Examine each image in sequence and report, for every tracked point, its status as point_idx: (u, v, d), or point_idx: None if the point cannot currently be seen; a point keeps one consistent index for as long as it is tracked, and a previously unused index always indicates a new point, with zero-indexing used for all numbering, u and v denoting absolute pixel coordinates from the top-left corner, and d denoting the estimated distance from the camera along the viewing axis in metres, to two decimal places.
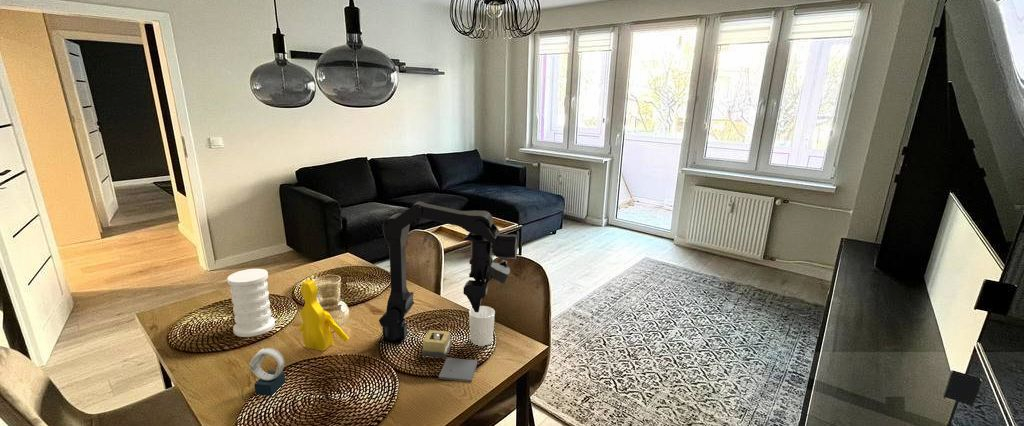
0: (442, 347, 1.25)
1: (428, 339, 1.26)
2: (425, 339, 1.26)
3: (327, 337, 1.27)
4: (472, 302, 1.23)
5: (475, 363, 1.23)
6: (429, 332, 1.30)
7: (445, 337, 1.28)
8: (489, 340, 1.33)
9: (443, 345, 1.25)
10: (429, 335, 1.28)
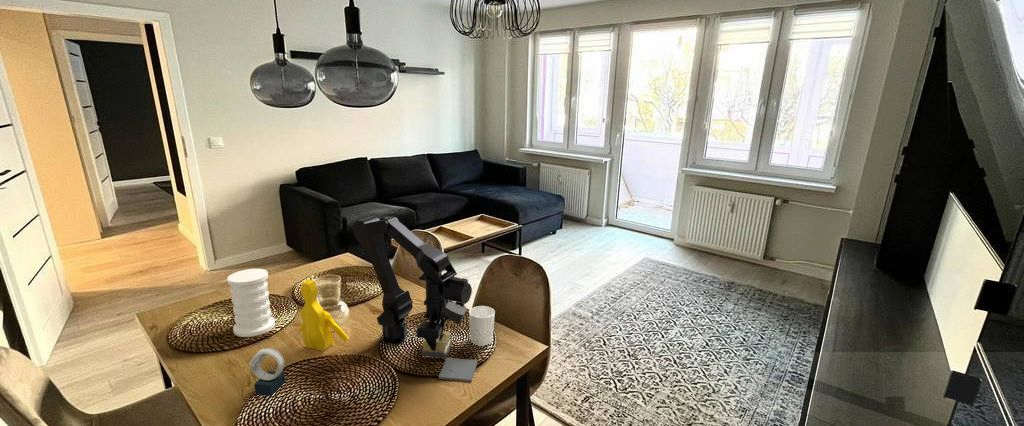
0: (442, 347, 1.25)
1: None
2: None
3: (327, 337, 1.27)
4: (428, 341, 1.24)
5: (475, 363, 1.23)
6: None
7: (445, 337, 1.28)
8: (489, 340, 1.33)
9: (443, 345, 1.25)
10: None
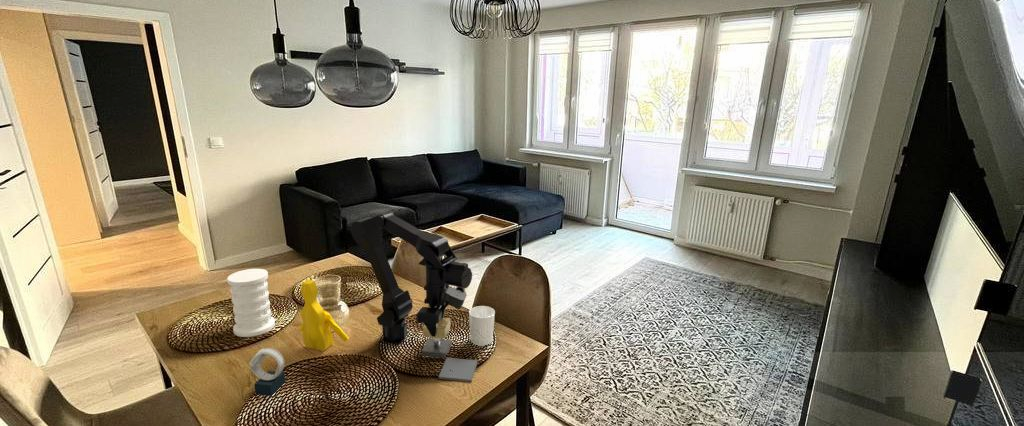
0: (442, 333, 1.24)
1: None
2: None
3: (327, 337, 1.27)
4: (428, 326, 1.22)
5: (475, 363, 1.23)
6: None
7: (445, 323, 1.26)
8: (489, 340, 1.33)
9: (444, 331, 1.24)
10: None
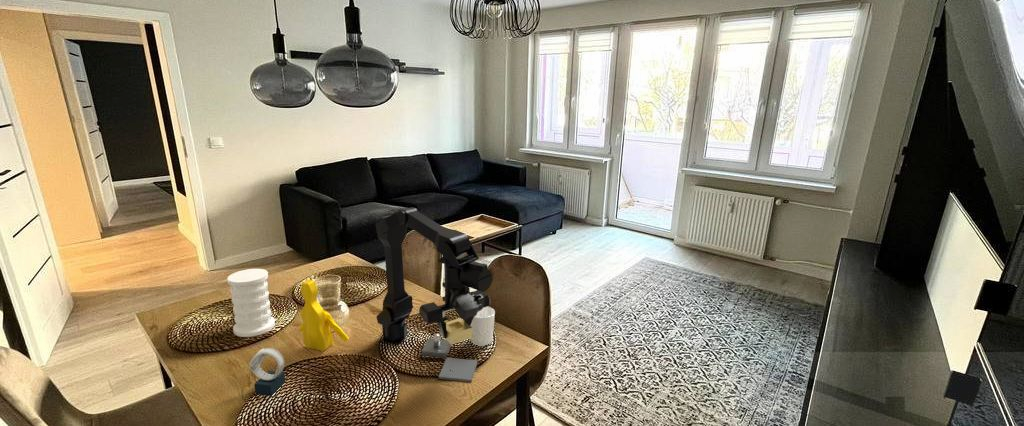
0: (450, 338, 1.14)
1: (446, 325, 1.18)
2: None
3: (327, 337, 1.27)
4: (438, 325, 1.15)
5: (475, 363, 1.23)
6: (456, 319, 1.21)
7: (460, 330, 1.15)
8: (489, 340, 1.33)
9: (450, 337, 1.13)
10: (452, 322, 1.19)
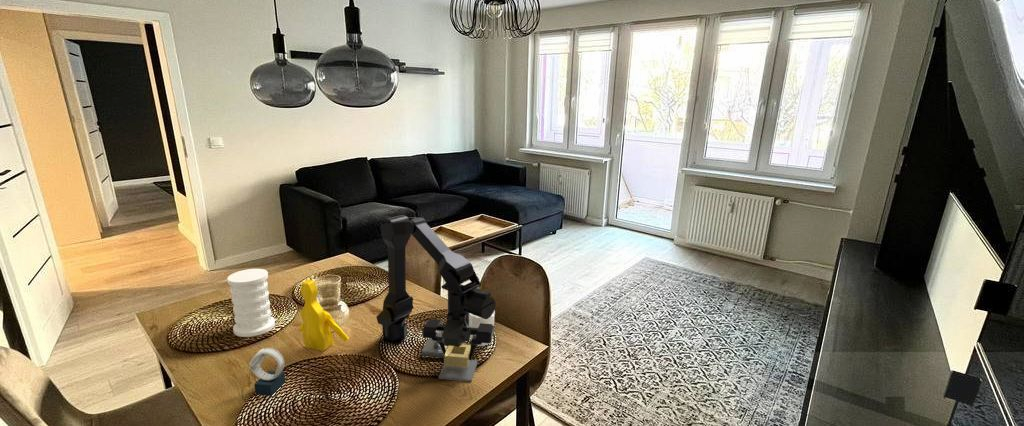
0: None
1: None
2: None
3: (327, 337, 1.27)
4: None
5: (475, 363, 1.23)
6: (467, 345, 1.22)
7: (455, 355, 1.17)
8: None
9: None
10: None
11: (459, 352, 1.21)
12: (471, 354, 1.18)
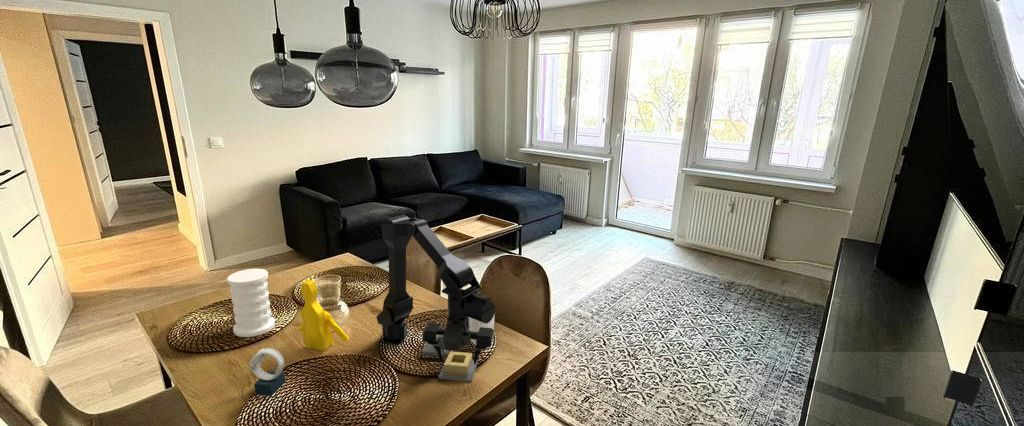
0: None
1: (453, 354, 1.22)
2: (453, 352, 1.23)
3: (327, 337, 1.27)
4: None
5: None
6: (467, 353, 1.22)
7: (455, 364, 1.17)
8: None
9: None
10: (460, 354, 1.22)
11: (459, 360, 1.22)
12: (476, 358, 1.18)
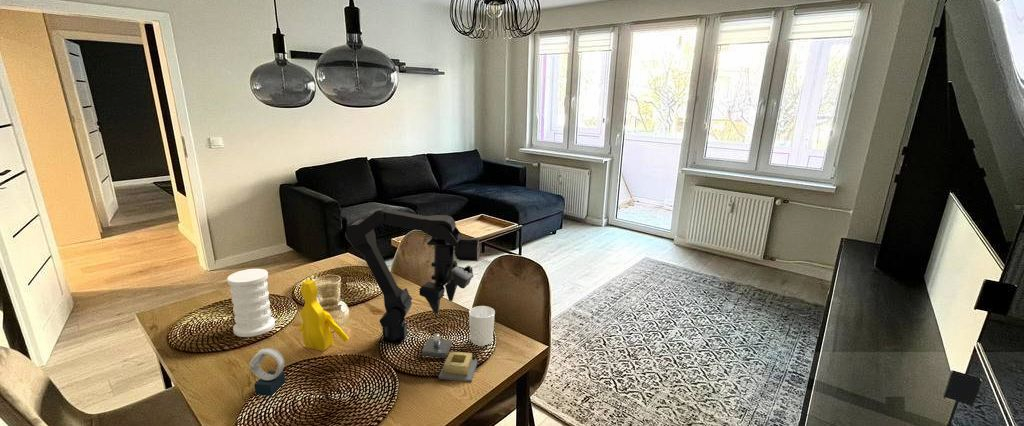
0: None
1: (453, 354, 1.22)
2: (453, 352, 1.23)
3: (327, 337, 1.27)
4: (431, 303, 1.26)
5: (475, 363, 1.23)
6: (467, 353, 1.22)
7: (455, 364, 1.17)
8: (489, 340, 1.33)
9: None
10: (460, 354, 1.22)
11: (459, 360, 1.22)
12: None
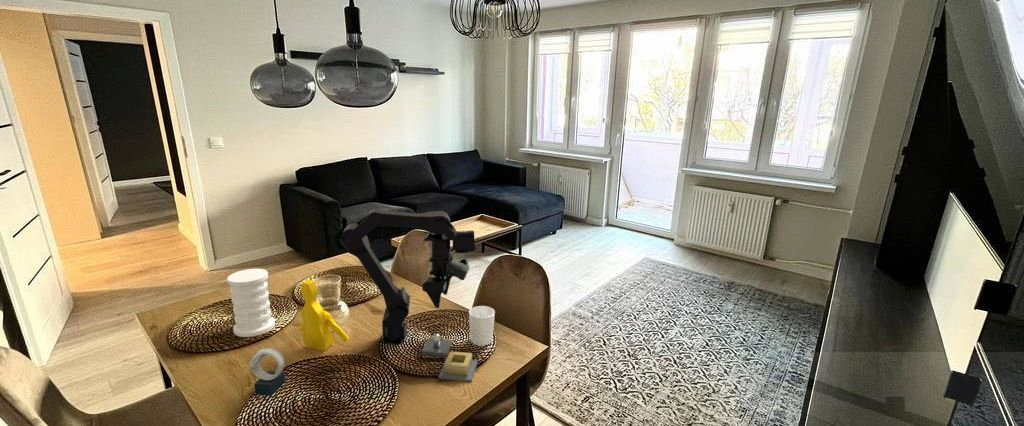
0: None
1: (453, 354, 1.22)
2: (453, 352, 1.23)
3: (327, 337, 1.27)
4: (432, 298, 1.29)
5: (475, 363, 1.23)
6: (467, 353, 1.22)
7: (455, 364, 1.17)
8: (489, 340, 1.33)
9: None
10: (460, 354, 1.22)
11: (459, 360, 1.22)
12: (448, 287, 1.39)
